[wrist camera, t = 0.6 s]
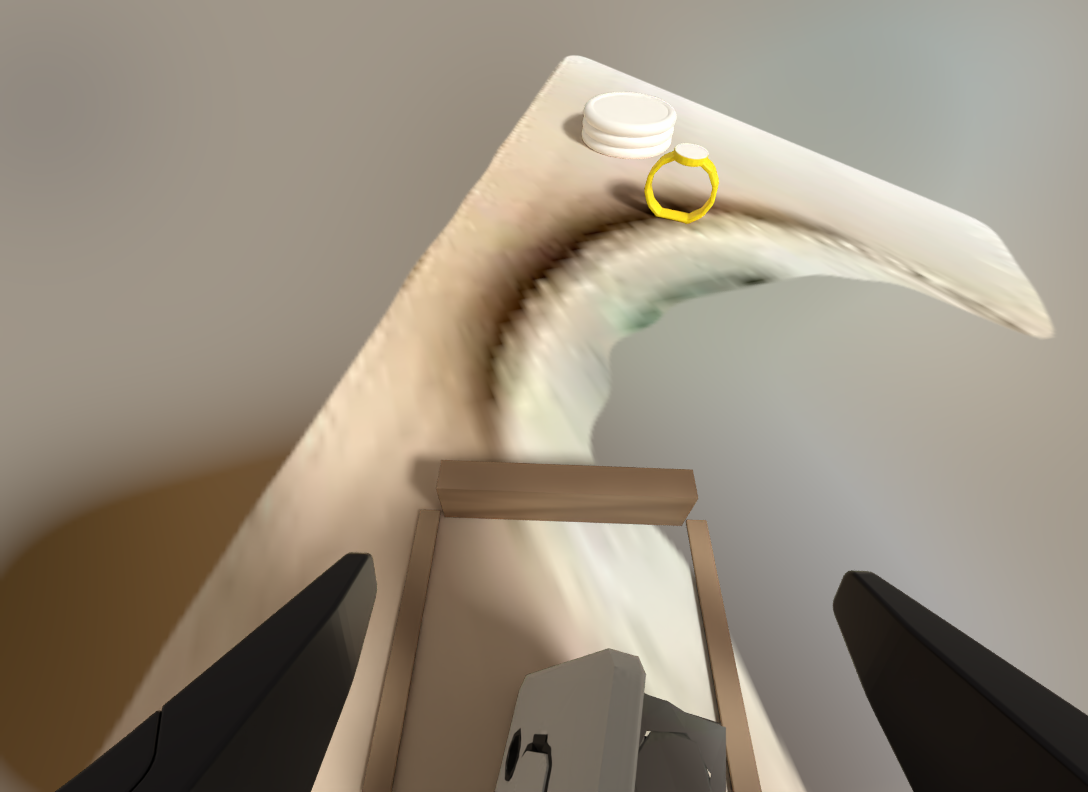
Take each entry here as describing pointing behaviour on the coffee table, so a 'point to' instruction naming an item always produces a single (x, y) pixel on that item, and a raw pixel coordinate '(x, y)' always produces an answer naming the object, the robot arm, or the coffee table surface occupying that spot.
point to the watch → (688, 157)
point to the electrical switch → (607, 734)
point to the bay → (571, 500)
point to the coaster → (628, 125)
